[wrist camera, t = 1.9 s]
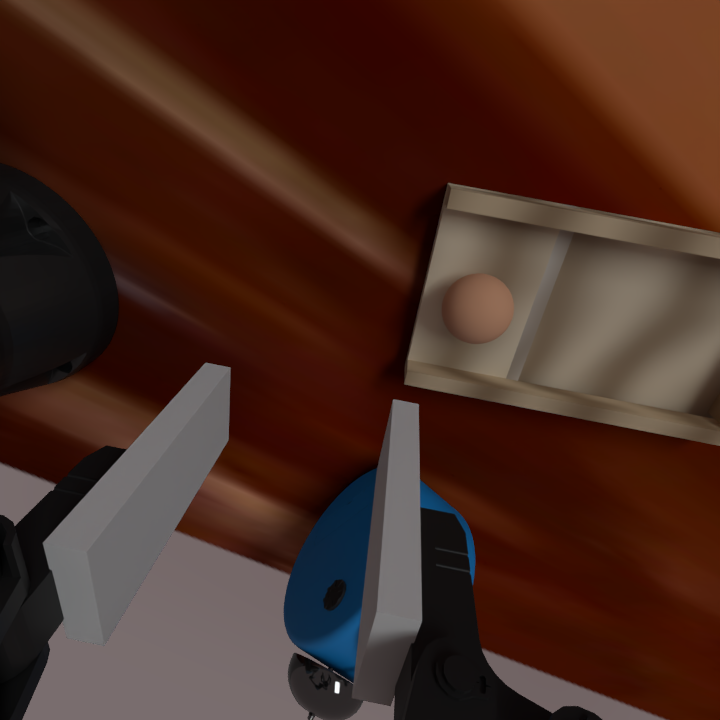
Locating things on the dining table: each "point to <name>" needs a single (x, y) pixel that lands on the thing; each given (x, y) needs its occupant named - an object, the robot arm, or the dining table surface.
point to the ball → (477, 308)
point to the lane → (578, 314)
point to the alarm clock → (337, 598)
